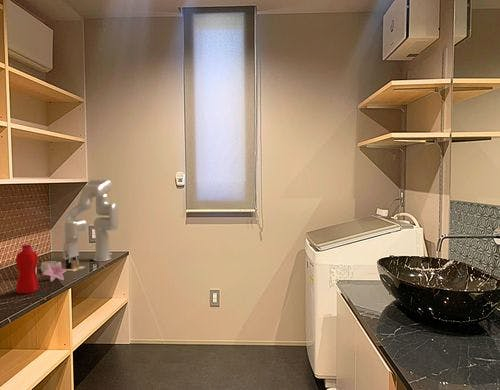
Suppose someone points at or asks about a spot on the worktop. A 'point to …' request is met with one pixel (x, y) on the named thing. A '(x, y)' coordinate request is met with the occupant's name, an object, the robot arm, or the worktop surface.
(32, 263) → the water bottle
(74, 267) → the lid
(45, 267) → the bowl
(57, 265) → the lily
